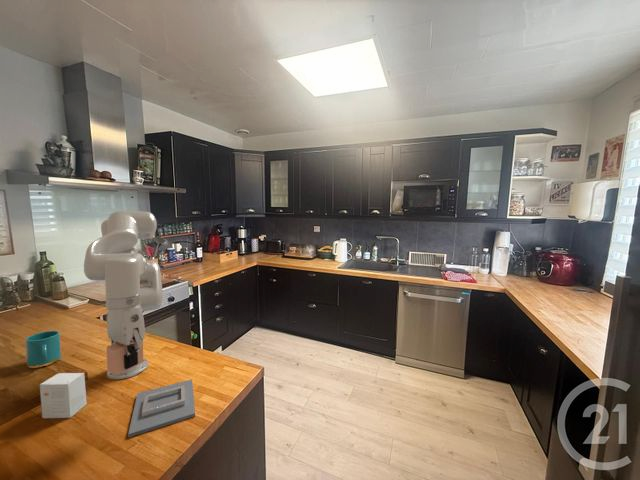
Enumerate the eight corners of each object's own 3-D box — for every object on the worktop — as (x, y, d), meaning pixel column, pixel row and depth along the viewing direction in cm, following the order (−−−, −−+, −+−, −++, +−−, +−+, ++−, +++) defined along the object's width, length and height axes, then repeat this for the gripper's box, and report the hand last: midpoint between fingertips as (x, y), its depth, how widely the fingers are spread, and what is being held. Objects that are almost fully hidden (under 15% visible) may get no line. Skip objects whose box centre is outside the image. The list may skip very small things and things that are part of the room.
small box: (87, 404, 79) (85, 372, 78) (70, 418, 73) (68, 384, 73) (60, 404, 79) (58, 372, 78) (41, 418, 73) (39, 384, 72)
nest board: (137, 396, 83) (137, 388, 83) (192, 381, 91) (192, 375, 91) (128, 437, 67) (127, 429, 67) (195, 416, 75) (194, 408, 75)
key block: (135, 358, 76) (134, 336, 75) (143, 362, 74) (142, 339, 74) (107, 371, 69) (106, 347, 69) (116, 375, 68) (115, 350, 67)
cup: (27, 376, 92) (25, 346, 91) (27, 363, 100) (25, 335, 99) (62, 365, 99) (60, 337, 98) (60, 354, 107) (58, 328, 106)
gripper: (156, 302, 70) (158, 365, 72) (121, 293, 77) (123, 351, 79) (126, 311, 63) (129, 380, 65) (90, 300, 70) (94, 363, 72)
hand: (126, 363), depth 72 cm, fingers closed on key block, 4 cm apart
